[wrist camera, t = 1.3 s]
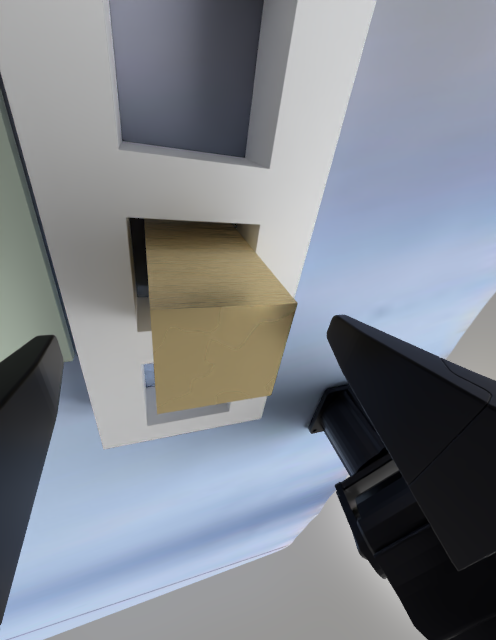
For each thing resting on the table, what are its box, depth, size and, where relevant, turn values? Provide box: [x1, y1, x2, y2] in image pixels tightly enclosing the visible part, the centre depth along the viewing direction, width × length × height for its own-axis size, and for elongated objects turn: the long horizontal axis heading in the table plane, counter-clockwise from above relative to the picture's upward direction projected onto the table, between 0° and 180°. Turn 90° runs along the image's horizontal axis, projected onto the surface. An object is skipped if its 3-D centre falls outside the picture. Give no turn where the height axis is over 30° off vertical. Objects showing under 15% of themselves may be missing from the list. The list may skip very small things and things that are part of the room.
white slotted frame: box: [0, 0, 376, 449], centre depth 13 cm, size 22×10×3 cm, turn 171°
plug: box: [144, 218, 297, 414], centre depth 11 cm, size 4×4×8 cm
